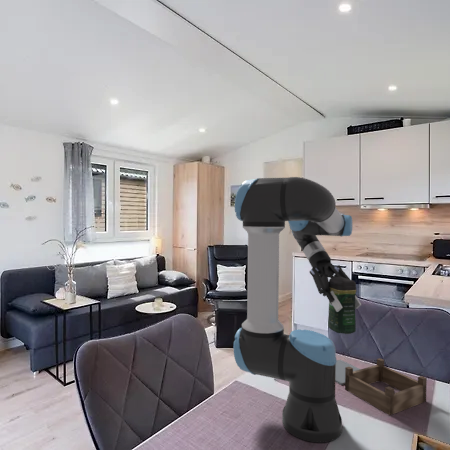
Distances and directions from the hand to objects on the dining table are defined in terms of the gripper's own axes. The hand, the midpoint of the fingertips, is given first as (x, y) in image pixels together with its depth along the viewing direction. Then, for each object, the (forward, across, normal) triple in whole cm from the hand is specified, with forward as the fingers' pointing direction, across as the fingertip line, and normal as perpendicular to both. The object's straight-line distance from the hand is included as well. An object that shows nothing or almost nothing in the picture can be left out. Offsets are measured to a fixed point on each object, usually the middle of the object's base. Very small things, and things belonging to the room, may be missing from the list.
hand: (349, 308), depth 117 cm
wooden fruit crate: (+27, 0, -6) cm, 27 cm away
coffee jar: (+4, 0, -9) cm, 9 cm away
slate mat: (+14, 0, -19) cm, 24 cm away
